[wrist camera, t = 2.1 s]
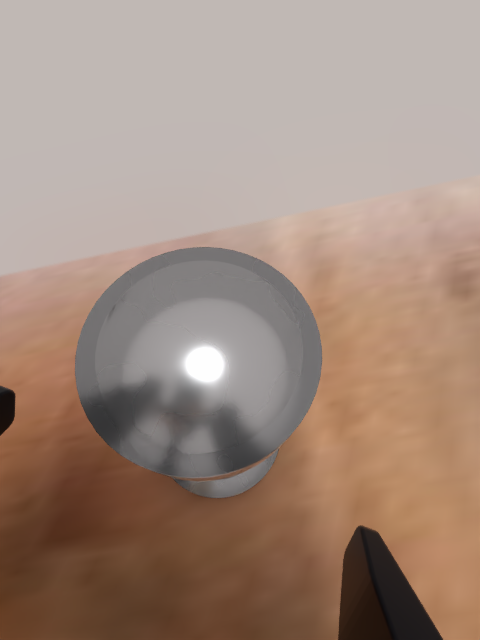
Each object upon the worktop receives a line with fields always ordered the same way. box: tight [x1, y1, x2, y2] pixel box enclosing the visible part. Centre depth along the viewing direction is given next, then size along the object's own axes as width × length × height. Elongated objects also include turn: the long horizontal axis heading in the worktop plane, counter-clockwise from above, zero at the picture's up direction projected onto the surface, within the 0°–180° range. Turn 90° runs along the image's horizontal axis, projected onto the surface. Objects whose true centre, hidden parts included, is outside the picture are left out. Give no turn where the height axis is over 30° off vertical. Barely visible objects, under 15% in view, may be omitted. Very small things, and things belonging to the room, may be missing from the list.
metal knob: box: [75, 247, 322, 498], centre depth 13 cm, size 6×6×12 cm
